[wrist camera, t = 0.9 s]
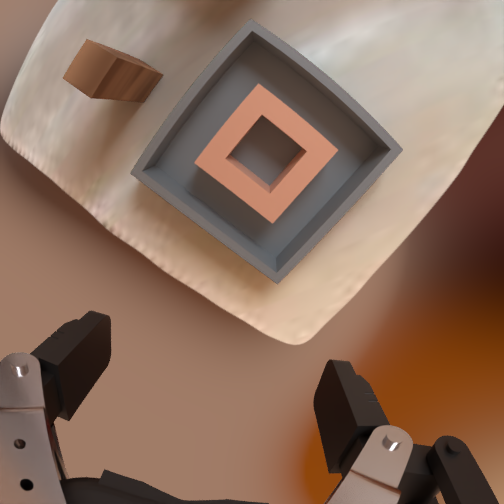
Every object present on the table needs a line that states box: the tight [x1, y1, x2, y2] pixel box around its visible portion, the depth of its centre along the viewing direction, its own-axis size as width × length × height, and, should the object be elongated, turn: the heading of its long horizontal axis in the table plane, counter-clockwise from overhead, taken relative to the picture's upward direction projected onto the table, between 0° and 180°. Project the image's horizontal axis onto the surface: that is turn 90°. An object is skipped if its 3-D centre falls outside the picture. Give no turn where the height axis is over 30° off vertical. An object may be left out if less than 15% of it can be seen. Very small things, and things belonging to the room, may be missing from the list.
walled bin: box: [130, 19, 403, 284], centre depth 31 cm, size 20×20×5 cm
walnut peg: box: [63, 39, 163, 102], centre depth 25 cm, size 4×4×12 cm
